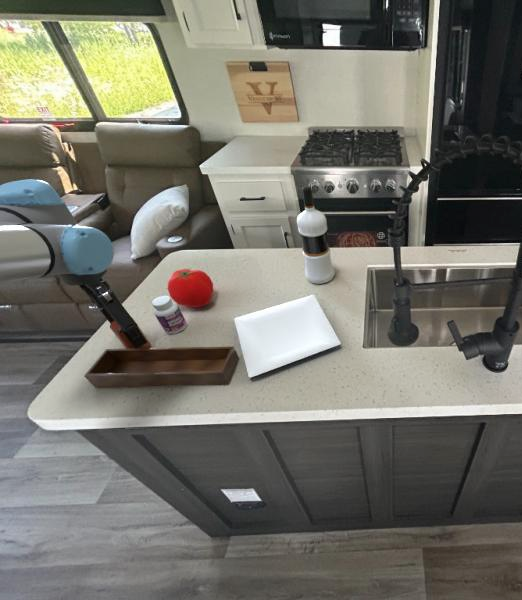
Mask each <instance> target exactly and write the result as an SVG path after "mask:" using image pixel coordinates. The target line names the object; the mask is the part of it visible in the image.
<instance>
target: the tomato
mask: <svg viewBox="0 0 522 600" xmlns="http://www.w3.org/2000/svg"><path fill="white" fill-rule="evenodd" d="M167 291H168V294H169V297H170V299H171V300H172V301H173V302H175V303H176V304H177V305H180V306H184V307H188V308H200V307H204V306H207V305H208V304H209V303H210V301H211V299H212V296H213V292H214V283H213V281H212V279H211V277H210V275H208V274H207V273H206V272H205V271H203V270H200V269H192V267H191V268H182V269H178V270H175V271H174V272H172V274H171V277H170V278H169V279H168V282H167Z"/></svg>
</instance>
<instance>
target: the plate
mask: <svg viewBox="0 0 522 600" xmlns="http://www.w3.org/2000/svg"><path fill="white" fill-rule="evenodd" d="M233 321H234V324H235V328H236V332H237V337H238V340H239V345H240V348H241V352H242V356H243V360H244V364H245V369H246V372H247V376H248V378H250V379H251V378H254V377H257V376H260V375H262V374H265V373H268V372H271V371H273V370H275V369H279V368H282V367H284V366H286V365H289V364H292V363H295V362H297V361H299V360H302V359H305V358H308V357H311V356H313V355H317V354H318V353H321V352H324V351H327V350H329V349H332V348H335V347H338V346H340V345H341V341H340V339H339V337H338V335H337V334H336V332H335V330H334V328H333V326H332V325H331V323H330V321H329V319H328V318H327V316H326V314H325V312H324V310H323V308H322V307H321V305H320V303H319V301H318V300H317V298H316V296H315V295H314V294H310V295H307V296H304V297H301V298H297V299H294V300H290V301H287V302H284V303H281V304H277V305H273V306H271V307H267V308H263V309H261V310H256V311H254V312H250V313H247V314H243V315H241V316H237V317H235V318H234V319H233Z"/></svg>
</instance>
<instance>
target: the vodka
mask: <svg viewBox="0 0 522 600" xmlns="http://www.w3.org/2000/svg"><path fill="white" fill-rule="evenodd" d="M301 192H302V198H303V205H304V210H303V211H302V212H301V213H299V214H298V216H297V218H296V225H297V229H298V230H297V231H298V232H299V233H298V234H299V237H300V242H301V247H302V255H303V258H304V265H305V271H304V273H305V274H304V275H305V278H306V280H307V281H308V282H310V283H312V284H316V285H321V284H326V283H329V282H330V281H331V280H333V278H334V277H335V269H334V266H333V262H332V259H331V248H330V242H329V235H328V224H327V223H328V222H327V217H326V215H325V214H324V213H323V212H322V211H320V210H318V209H316V208H315V202H314V198H313V197H314V196H313V188H312V186H307V185H306V186H303V187H301Z"/></svg>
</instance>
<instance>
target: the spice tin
mask: <svg viewBox="0 0 522 600" xmlns="http://www.w3.org/2000/svg"><path fill="white" fill-rule="evenodd" d="M132 319H133V320H134V321H135V319H134V318H133V317H132ZM135 323H137V322H136V321H135ZM137 328H138V329H139V330H140V332H141V333H142V335H143V336H144V338H145V339H146V340H147V342H148V343H146V344H144V345H142V346H141V347H139V348H151V347H152V344H151V342H150V341H149V339H148V338H147V337H146V335H145V334H144V332H143V331H142V329H141V327H140V326H139V325H138V327H137ZM109 329H110V330H111V332H112V333H113V334H114V336H116V338H117V339H118V340H119V342H120V343H121V344H122V346H123V347H124V349H129V348H134V347H133V345H132V344H131V343H130V341H129V340H128V339H127V337H126V336H125V335H124V333H123V332H121V333H119V332H118V330H120V326H119V325H118V324H117V323H116V322H115V320H114V321H113V322H112V323H111V324H110V323H109Z"/></svg>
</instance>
